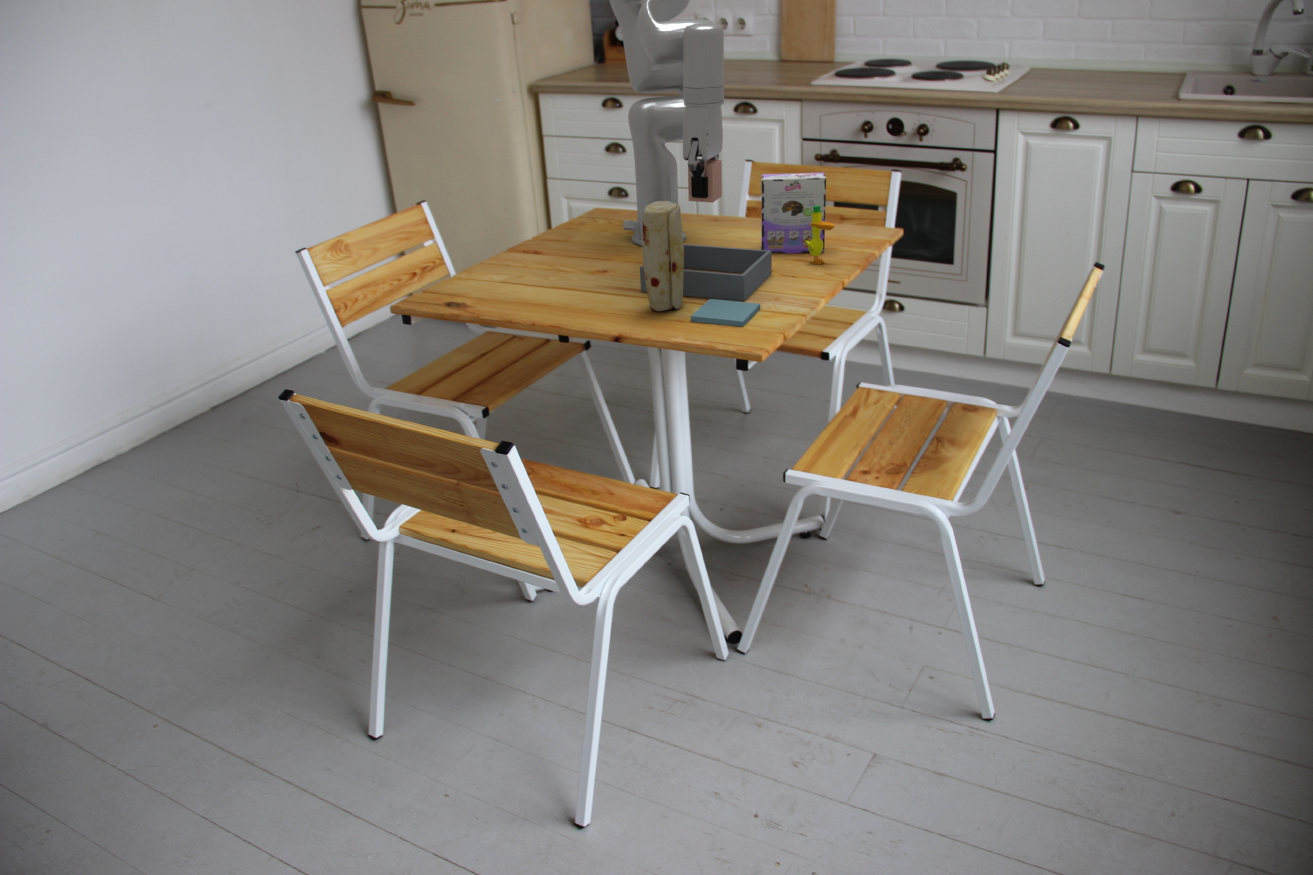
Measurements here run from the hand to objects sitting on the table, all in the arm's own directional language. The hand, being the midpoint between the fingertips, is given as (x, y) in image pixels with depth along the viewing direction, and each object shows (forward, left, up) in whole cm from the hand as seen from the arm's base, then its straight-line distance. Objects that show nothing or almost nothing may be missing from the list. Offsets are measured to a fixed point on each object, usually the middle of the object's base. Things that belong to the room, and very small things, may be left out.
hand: (705, 193), depth 189 cm
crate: (0, 0, -18) cm, 18 cm away
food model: (-2, -17, -18) cm, 25 cm away
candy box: (+10, +27, -18) cm, 34 cm away
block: (0, 0, -1) cm, 1 cm away
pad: (+10, -17, -18) cm, 27 cm away
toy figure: (+18, +19, -18) cm, 32 cm away
